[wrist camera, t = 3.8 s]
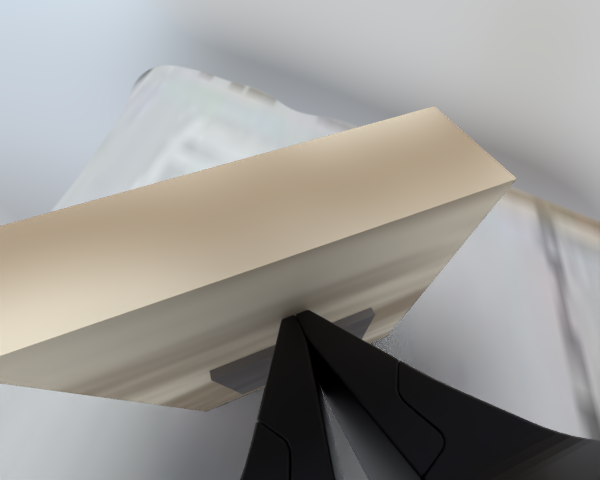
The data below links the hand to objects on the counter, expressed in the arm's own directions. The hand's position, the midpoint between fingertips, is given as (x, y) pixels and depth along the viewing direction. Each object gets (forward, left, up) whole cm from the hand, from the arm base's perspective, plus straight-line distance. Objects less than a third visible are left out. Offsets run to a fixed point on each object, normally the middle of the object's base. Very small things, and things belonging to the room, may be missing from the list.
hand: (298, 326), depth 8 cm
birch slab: (0, 0, -9) cm, 10 cm away
